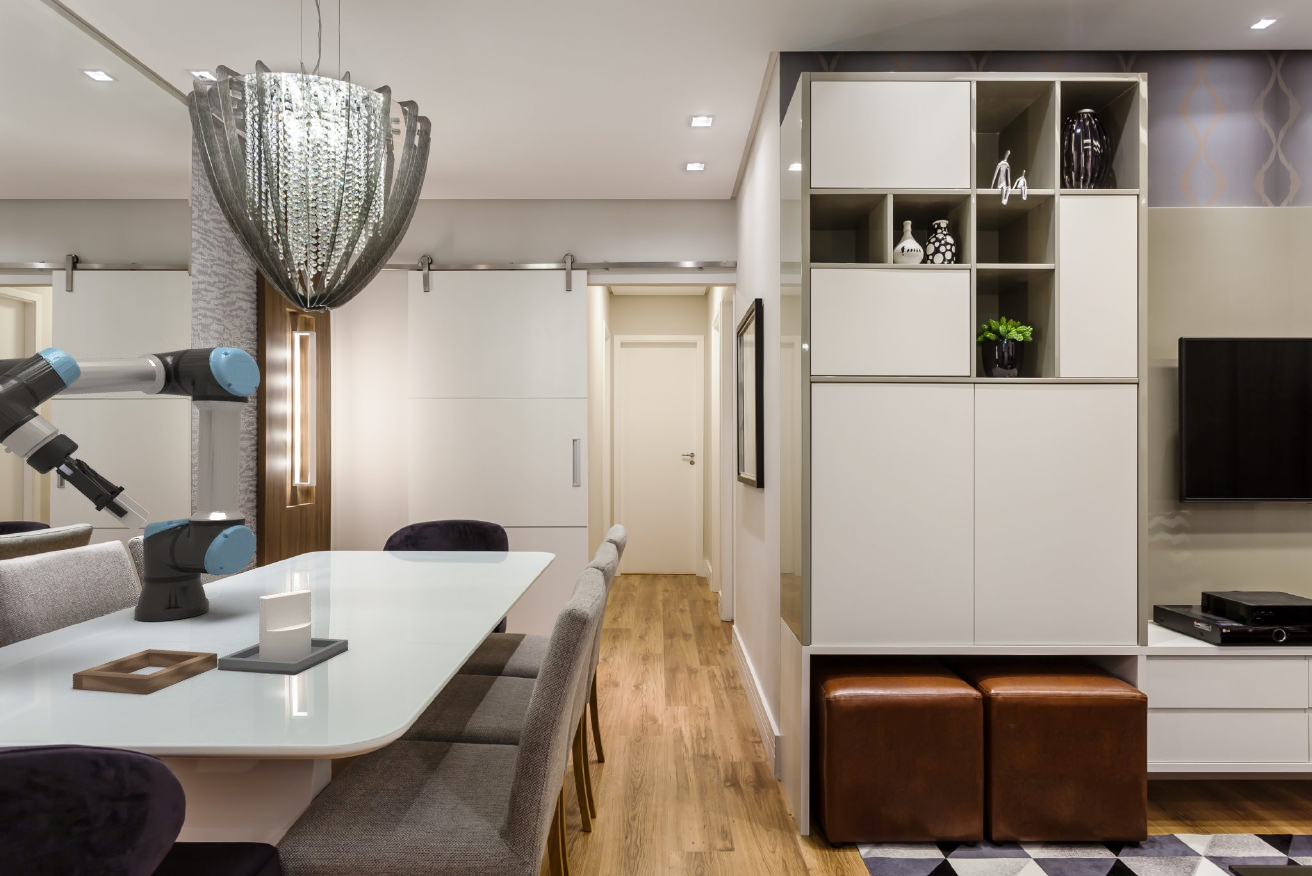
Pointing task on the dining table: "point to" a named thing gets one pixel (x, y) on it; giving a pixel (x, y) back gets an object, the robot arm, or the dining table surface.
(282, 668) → the charcoal tray
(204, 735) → the dining table surface
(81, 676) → the walnut collar
